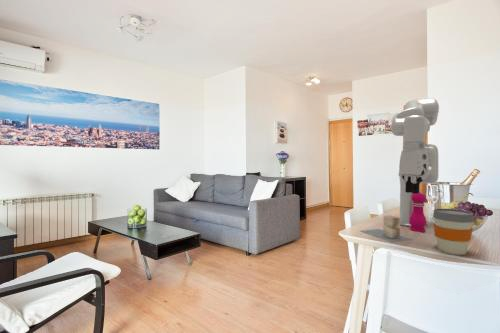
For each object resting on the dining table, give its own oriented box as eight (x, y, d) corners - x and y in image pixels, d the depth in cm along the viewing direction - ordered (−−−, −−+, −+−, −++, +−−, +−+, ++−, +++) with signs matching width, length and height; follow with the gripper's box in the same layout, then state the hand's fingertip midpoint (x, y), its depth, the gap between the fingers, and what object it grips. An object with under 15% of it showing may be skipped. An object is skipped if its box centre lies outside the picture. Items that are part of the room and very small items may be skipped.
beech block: (390, 235, 127) (391, 215, 126) (399, 238, 122) (400, 217, 122) (383, 236, 125) (383, 216, 125) (391, 239, 121) (392, 218, 120)
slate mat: (378, 229, 138) (378, 228, 138) (413, 240, 120) (413, 239, 120) (358, 231, 134) (358, 230, 134) (392, 243, 116) (392, 242, 116)
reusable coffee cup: (459, 258, 100) (461, 216, 99) (424, 247, 111) (426, 209, 110) (479, 253, 105) (481, 213, 104) (444, 243, 116) (445, 207, 116)
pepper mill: (420, 233, 131) (421, 190, 131) (405, 230, 138) (406, 188, 137) (429, 231, 135) (431, 189, 134) (414, 228, 141) (416, 188, 140)
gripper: (439, 146, 107) (438, 195, 108) (403, 147, 122) (402, 190, 123) (425, 146, 105) (423, 196, 105) (390, 147, 119) (388, 190, 120)
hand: (412, 192), depth 114 cm, fingers closed
